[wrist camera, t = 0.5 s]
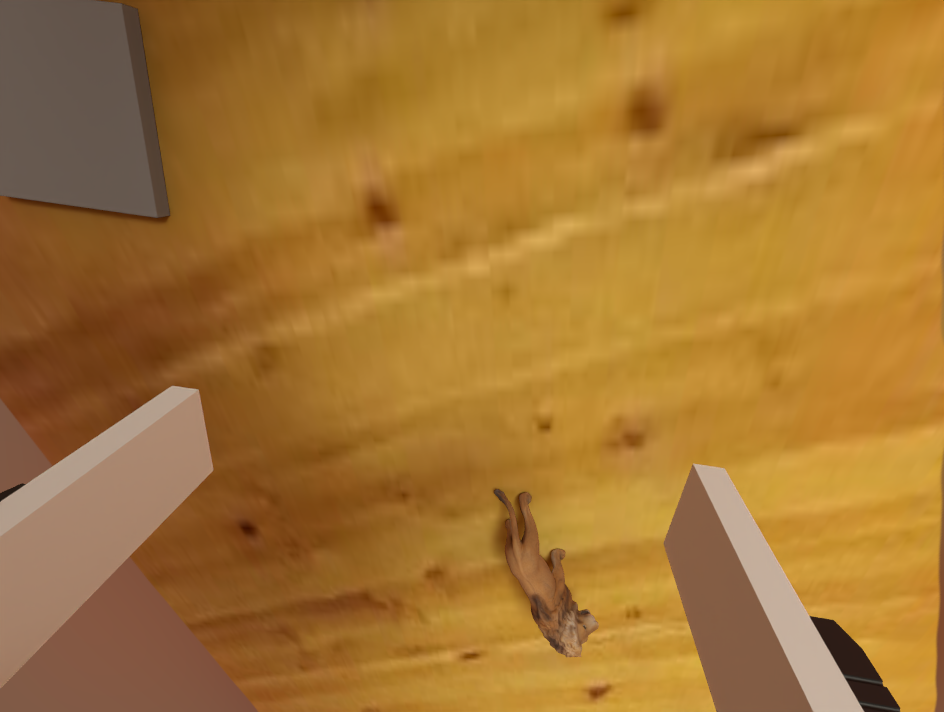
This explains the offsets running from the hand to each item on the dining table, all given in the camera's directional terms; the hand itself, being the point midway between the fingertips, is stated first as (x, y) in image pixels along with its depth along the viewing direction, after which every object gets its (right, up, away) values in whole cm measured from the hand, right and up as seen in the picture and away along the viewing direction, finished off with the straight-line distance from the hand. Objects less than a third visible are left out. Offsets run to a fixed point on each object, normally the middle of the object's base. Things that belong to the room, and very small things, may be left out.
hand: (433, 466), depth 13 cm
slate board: (-30, +22, +23) cm, 44 cm away
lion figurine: (+8, -16, +35) cm, 40 cm away
